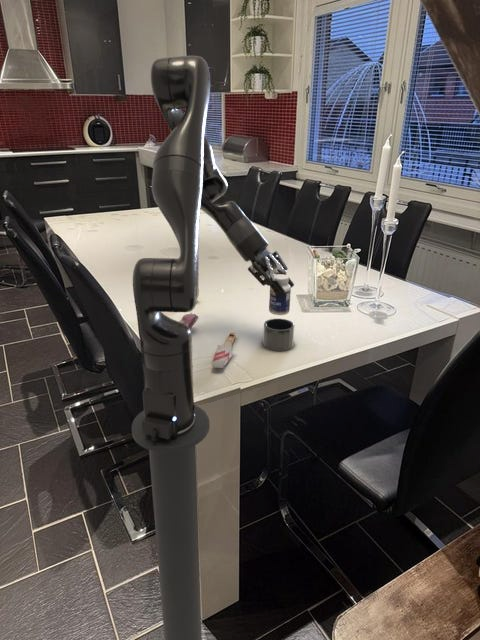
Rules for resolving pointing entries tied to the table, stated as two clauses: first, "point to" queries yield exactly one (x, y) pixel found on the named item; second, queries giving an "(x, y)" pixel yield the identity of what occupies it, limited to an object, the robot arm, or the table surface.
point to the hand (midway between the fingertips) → (286, 290)
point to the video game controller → (189, 320)
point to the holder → (278, 334)
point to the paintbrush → (223, 352)
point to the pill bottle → (280, 297)
